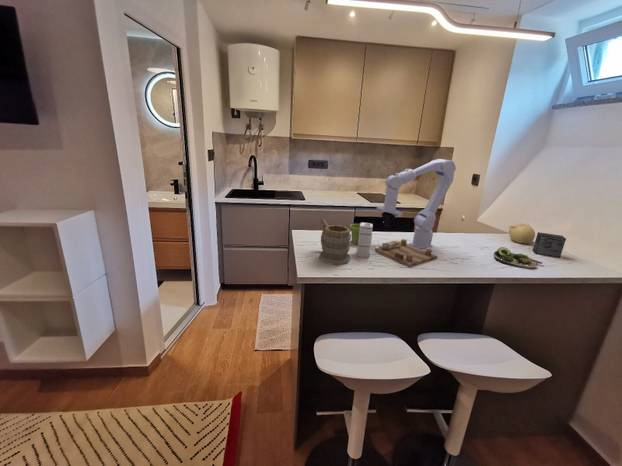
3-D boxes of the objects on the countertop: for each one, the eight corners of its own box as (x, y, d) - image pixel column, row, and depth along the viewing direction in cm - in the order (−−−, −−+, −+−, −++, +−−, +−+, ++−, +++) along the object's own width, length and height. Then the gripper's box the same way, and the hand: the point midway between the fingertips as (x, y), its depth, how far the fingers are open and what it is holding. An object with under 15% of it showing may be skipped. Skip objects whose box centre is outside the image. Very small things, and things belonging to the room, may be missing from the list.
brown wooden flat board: (401, 244, 149) (403, 237, 148) (436, 258, 134) (438, 250, 133) (374, 251, 138) (376, 243, 137) (409, 267, 123) (411, 258, 121)
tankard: (354, 262, 124) (358, 229, 119) (329, 266, 118) (332, 232, 114) (331, 246, 141) (333, 216, 136) (308, 249, 135) (309, 218, 130)
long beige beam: (384, 250, 135) (385, 245, 134) (380, 248, 137) (380, 243, 136) (401, 246, 142) (401, 241, 141) (396, 244, 144) (397, 239, 143)
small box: (556, 254, 150) (562, 235, 147) (560, 258, 144) (567, 238, 141) (531, 250, 154) (537, 231, 151) (534, 254, 148) (541, 234, 145)
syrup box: (369, 257, 130) (373, 226, 126) (356, 255, 131) (359, 225, 127) (369, 252, 136) (373, 223, 131) (356, 251, 137) (360, 221, 132)
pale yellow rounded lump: (519, 238, 173) (525, 221, 170) (537, 245, 162) (543, 227, 158) (502, 238, 171) (507, 220, 168) (519, 245, 160) (524, 227, 157)
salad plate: (538, 260, 140) (541, 252, 139) (545, 274, 125) (548, 264, 124) (492, 251, 149) (495, 243, 148) (494, 262, 134) (496, 253, 133)
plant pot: (353, 238, 155) (355, 222, 152) (369, 242, 150) (371, 226, 147) (345, 242, 147) (346, 226, 145) (361, 247, 142) (363, 230, 140)
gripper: (373, 198, 143) (370, 224, 148) (397, 204, 132) (392, 232, 136) (383, 197, 147) (379, 222, 152) (407, 203, 136) (402, 230, 140)
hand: (386, 227), depth 144 cm, fingers closed
